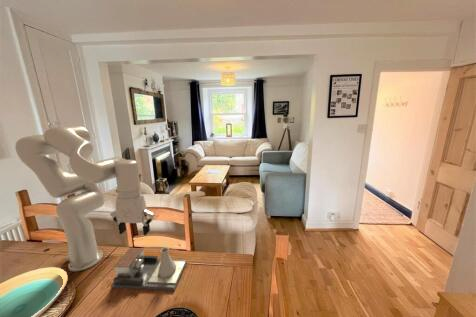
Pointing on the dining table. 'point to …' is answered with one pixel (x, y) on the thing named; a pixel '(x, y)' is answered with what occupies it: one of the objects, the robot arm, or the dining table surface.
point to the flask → (166, 264)
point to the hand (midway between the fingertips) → (134, 232)
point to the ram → (130, 263)
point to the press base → (151, 276)
